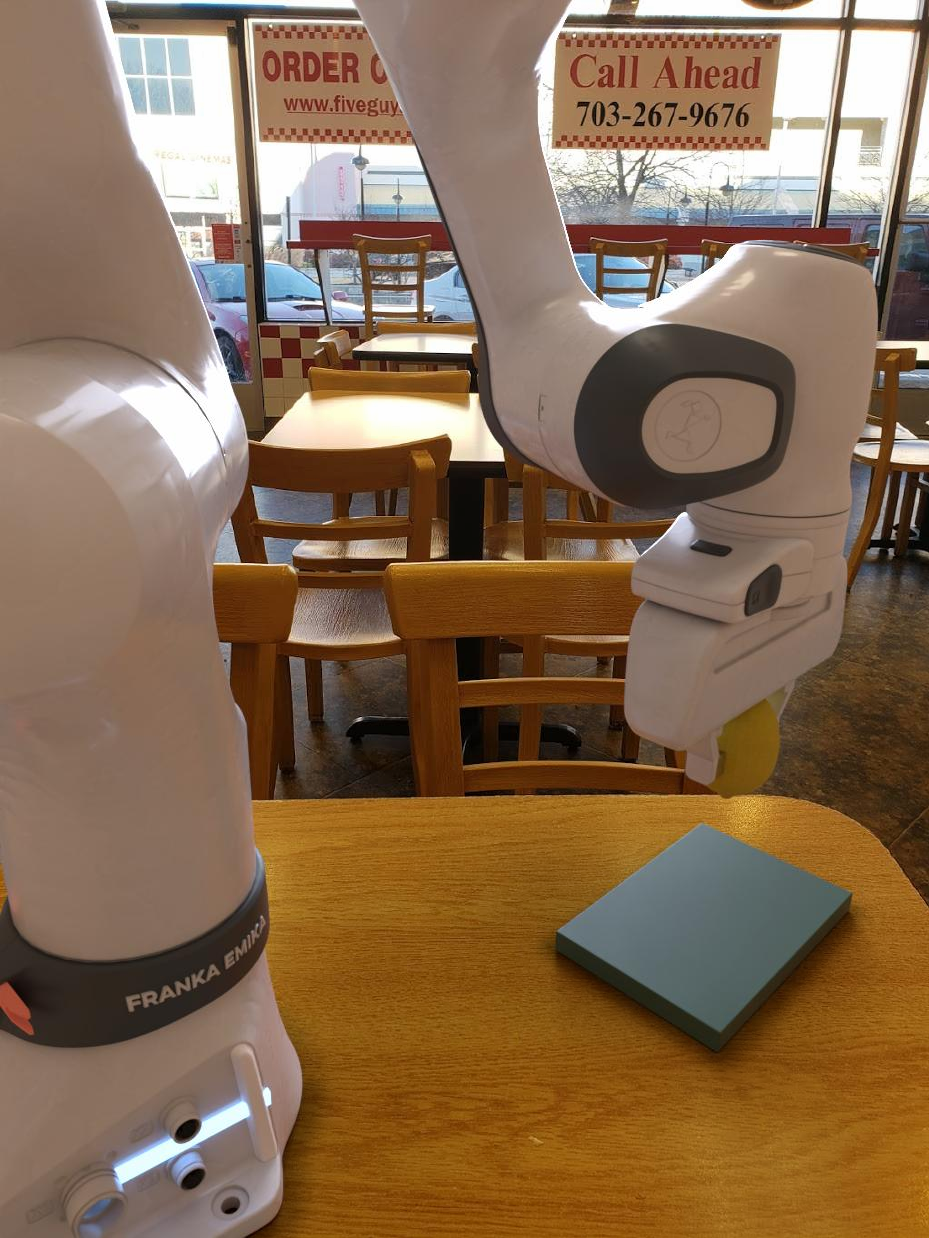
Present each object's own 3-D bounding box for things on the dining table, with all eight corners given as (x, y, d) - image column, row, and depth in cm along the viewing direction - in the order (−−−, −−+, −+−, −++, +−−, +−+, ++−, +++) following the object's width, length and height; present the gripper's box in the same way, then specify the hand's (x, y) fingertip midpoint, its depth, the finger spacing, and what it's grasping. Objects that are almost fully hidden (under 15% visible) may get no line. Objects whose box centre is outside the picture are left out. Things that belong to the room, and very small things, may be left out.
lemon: (769, 828, 57) (788, 710, 54) (676, 811, 58) (689, 695, 56) (771, 784, 62) (789, 673, 59) (686, 769, 63) (698, 660, 60)
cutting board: (717, 1053, 54) (720, 1033, 53) (554, 949, 61) (555, 931, 61) (849, 910, 66) (853, 892, 65) (699, 838, 74) (701, 822, 73)
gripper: (792, 506, 63) (764, 692, 68) (612, 572, 49) (594, 799, 54) (887, 524, 59) (850, 721, 64) (720, 602, 45) (690, 845, 50)
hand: (731, 758), depth 59 cm, fingers closed on lemon, 5 cm apart
